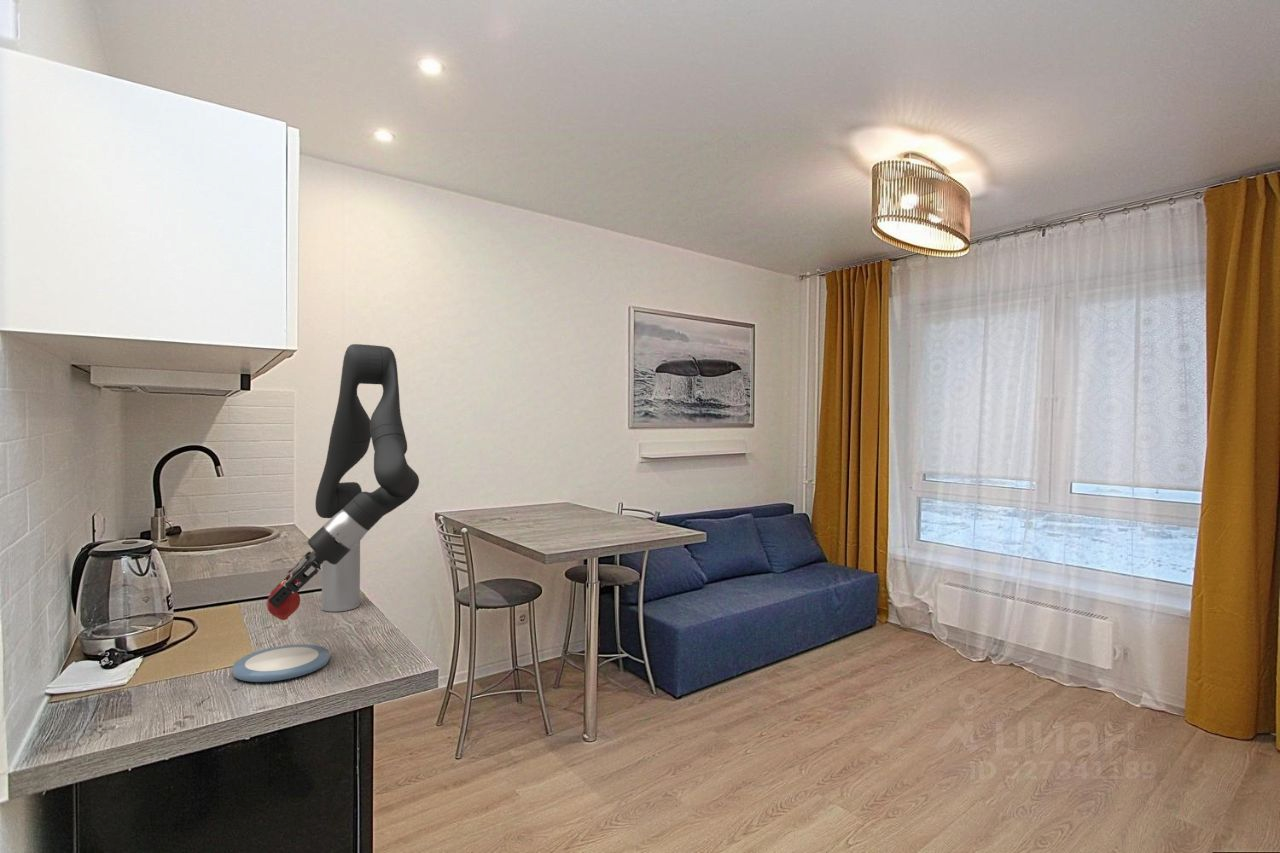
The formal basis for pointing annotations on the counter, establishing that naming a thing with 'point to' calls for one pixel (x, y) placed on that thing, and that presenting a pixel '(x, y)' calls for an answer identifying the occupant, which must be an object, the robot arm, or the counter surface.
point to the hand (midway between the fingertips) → (273, 600)
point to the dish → (280, 662)
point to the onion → (284, 604)
